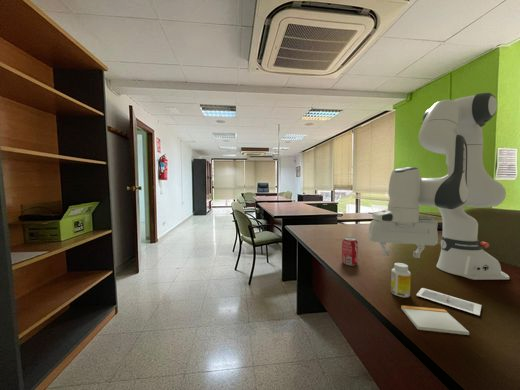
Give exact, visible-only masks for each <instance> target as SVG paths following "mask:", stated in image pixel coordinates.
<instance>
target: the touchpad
mask: <svg viewBox="0 0 520 390" xmlns="http://www.w3.org/2000/svg"><path fill="white" fill-rule="evenodd" d="M415 295H416V296H417V297H421V298H422V299H423V298H424V299H427V300H430V301H432V302H436V303H438V304H442V305H445V306H449V307H452V308H455V309H458V310H460V311H461V310H462V311H464V312H467V313H470V314H474V315H476V316H481V311H482V304H479V303H476V302H472V301H469V300H465V299H462V298H460V297H459V298H458V297H455V296H452V295H448V294H445V293H443V292H439V291H435V290H432V289H428V288H425V287H421V288H420V290H418V291H417V293H416V294H415Z"/></svg>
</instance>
